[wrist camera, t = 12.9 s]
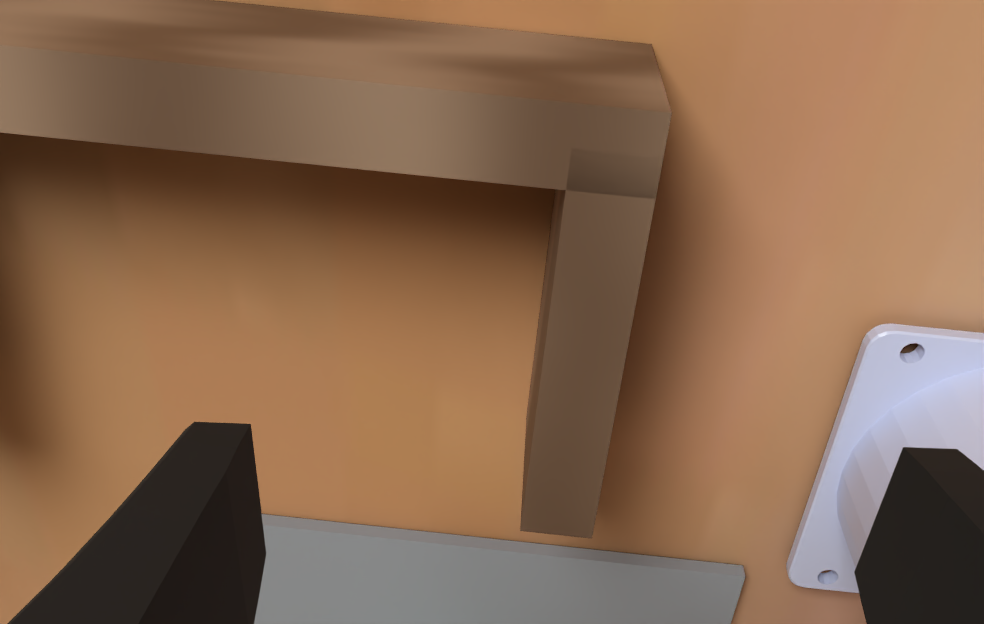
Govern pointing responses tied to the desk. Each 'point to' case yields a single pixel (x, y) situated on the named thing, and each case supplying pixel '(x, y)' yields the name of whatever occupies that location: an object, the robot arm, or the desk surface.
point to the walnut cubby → (394, 153)
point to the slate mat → (476, 580)
